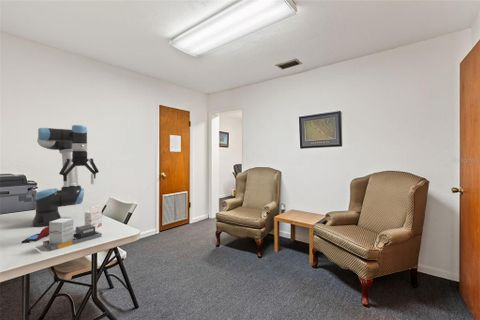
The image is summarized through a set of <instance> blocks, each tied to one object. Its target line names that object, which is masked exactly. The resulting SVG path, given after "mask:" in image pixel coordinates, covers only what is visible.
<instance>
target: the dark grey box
mask: <svg viewBox="0 0 480 320" xmlns="http://www.w3.org/2000/svg"><path fill="white" fill-rule="evenodd" d="M95 231H96V229H95V226H93V225H90V224H89V225H85V224H84V225H81V226H77V227H75V233H76V238H78V239H80V238H84V237H88V236H91V235H95Z"/></svg>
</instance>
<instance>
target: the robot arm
mask: <svg viewBox="0 0 480 320" xmlns="http://www.w3.org/2000/svg"><path fill="white" fill-rule="evenodd" d="M37 130H38V131H37V140H36V141H37V144H38V145H39V146H40V147H42V148H44V149H47V150H54V151H58V153H60V154H61V161H62V168H61V169H60V171H59V175H61V176H62V178H63V179H62V180H63V185H62V186H61V188H60V189H58V188H46V189H44V190H43V189H42V190H39V191H36V192H35V199H34V200H35V216H34V217H33V220H32V227H35V228H36V227H38V228H39V227H40V228H41V227H48V226H49V222H51V221H54V220H57V219H60V218H62V216H61V214H60V212H59V207H60V208H61V207H67V206H68V207H69V206H76V205H81V204H82V203H83V201H84V195H85V190H84V188H83V187H82V186H81V185H80V184H79V178H78V175H79V174H78V167H80V166H81V167H85V168H86V169H87V170H89V172H90V185H95V179H96V176H97V175H96V174H98V173H99V172H100V171H99V169H98V167H97V165H96V164H95V162H94V158H88V151H87V150H88V129H87V126H86V125H82V124H73V125H71V129H69V128H68V129H67V128H66V129H65V128H50V127H39V128H38V129H37ZM88 162H89V164H90V165H91V166H90V165H89V164H88Z"/></svg>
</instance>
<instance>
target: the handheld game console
mask: <svg viewBox="0 0 480 320" xmlns="http://www.w3.org/2000/svg"><path fill="white" fill-rule="evenodd" d="M46 237H49V226H45V227H44V228H42V230H41V231H40V232H39V233H35V234H33V235H31V236H29V237H27V238H25V239H24V240H21V243H22V244H29V243H31V242H37V241H39V240H41V239H43V238H46Z"/></svg>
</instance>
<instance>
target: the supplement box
mask: <svg viewBox="0 0 480 320" xmlns="http://www.w3.org/2000/svg"><path fill="white" fill-rule="evenodd" d="M73 234H74V218H63V217H61V218H60V219H57V220H54V221H51V222H49V236H48V237H49V238H48V240H49V244H51V245H52V246H54V245H57V244H60V243H64V242H68V241H73Z"/></svg>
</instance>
